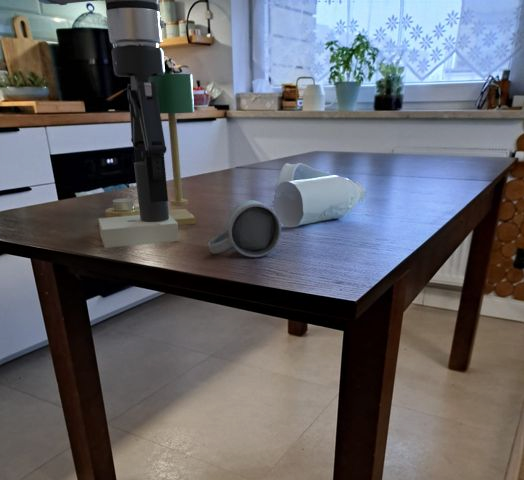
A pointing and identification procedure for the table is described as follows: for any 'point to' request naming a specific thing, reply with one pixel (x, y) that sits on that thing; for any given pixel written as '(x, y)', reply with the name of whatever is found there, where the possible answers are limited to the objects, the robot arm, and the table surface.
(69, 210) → the table surface
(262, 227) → the ceramic mug
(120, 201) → the lamp switch
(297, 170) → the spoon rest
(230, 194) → the table surface
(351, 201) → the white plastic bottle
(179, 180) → the desk lamp
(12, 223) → the table surface
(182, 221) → the lamp base
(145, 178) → the dark grey cylinder
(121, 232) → the plate
